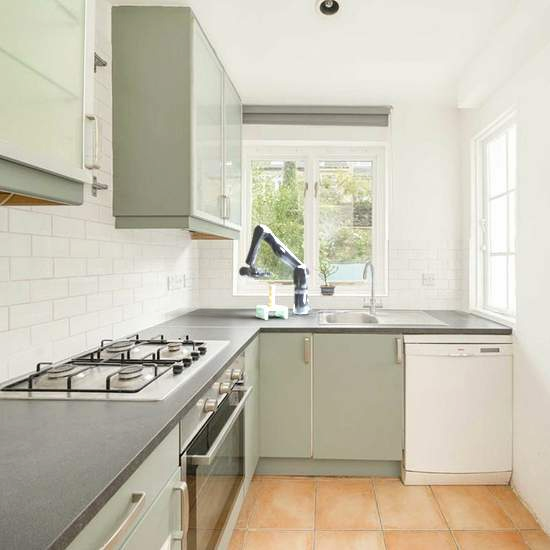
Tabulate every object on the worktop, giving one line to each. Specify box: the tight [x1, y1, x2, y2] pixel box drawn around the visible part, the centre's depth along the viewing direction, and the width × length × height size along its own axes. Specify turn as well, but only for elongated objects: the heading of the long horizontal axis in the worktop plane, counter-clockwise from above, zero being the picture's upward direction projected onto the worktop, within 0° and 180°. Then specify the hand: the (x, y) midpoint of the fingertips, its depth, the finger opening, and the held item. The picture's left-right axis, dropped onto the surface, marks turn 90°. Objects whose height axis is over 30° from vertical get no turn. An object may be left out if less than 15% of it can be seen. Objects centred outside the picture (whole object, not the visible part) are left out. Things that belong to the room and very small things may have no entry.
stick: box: [267, 284, 277, 307], centre depth 299 cm, size 5×5×14 cm
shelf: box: [255, 304, 289, 320], centre depth 299 cm, size 16×14×7 cm
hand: (265, 273), depth 308 cm, fingers open, 8 cm apart
